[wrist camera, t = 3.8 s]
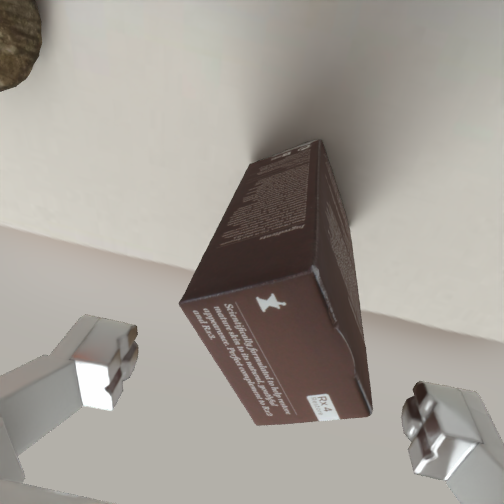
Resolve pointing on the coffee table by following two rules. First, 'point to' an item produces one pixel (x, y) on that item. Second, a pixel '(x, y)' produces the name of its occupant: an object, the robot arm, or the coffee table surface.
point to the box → (285, 295)
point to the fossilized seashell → (18, 40)
